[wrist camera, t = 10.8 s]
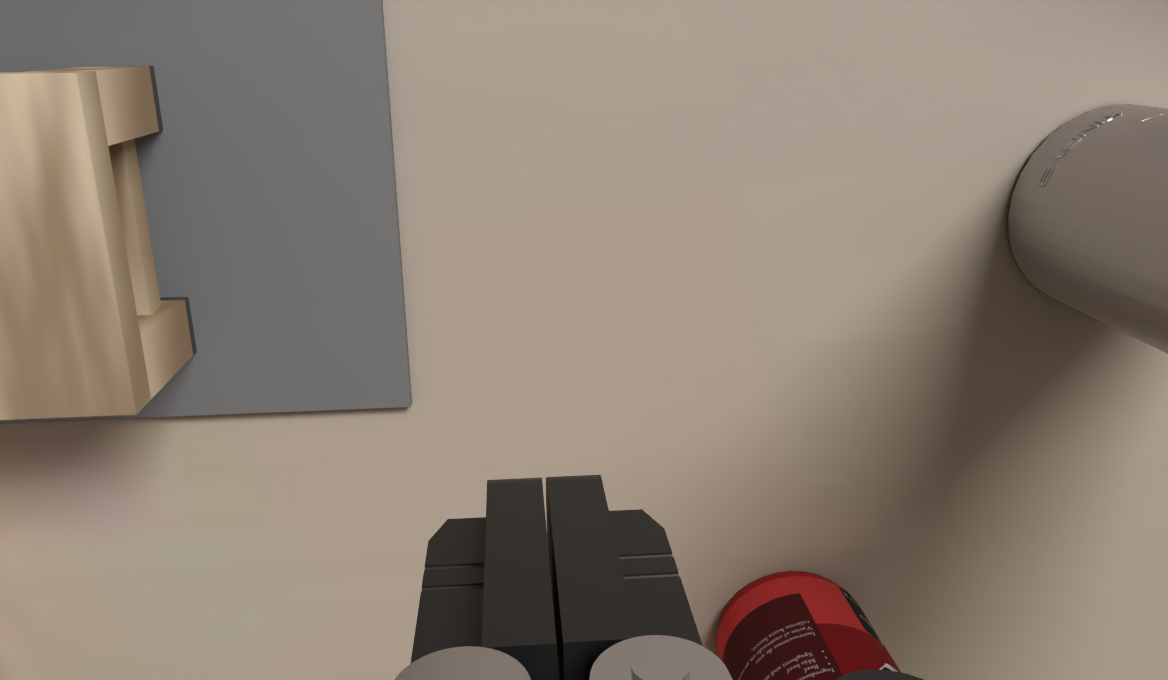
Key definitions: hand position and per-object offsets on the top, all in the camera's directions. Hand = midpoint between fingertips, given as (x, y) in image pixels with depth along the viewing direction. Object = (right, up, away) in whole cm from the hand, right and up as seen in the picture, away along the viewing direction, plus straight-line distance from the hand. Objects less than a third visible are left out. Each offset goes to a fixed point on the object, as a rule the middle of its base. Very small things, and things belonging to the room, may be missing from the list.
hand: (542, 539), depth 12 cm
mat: (-19, +8, +26) cm, 33 cm away
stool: (-16, +7, +23) cm, 29 cm away
